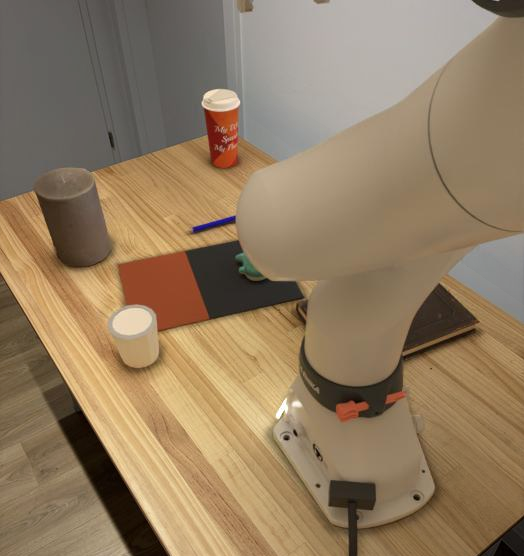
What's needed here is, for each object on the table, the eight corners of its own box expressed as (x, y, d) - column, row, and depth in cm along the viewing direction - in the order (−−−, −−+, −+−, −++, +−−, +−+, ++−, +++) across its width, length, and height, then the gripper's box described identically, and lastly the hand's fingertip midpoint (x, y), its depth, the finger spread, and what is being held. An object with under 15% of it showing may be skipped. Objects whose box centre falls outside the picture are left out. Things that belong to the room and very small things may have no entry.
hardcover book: (475, 331, 85) (479, 320, 84) (347, 381, 79) (349, 371, 77) (414, 271, 95) (416, 260, 93) (295, 311, 89) (296, 301, 87)
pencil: (268, 209, 107) (268, 204, 107) (270, 211, 107) (270, 207, 106) (186, 232, 102) (186, 227, 102) (188, 234, 102) (187, 230, 101)
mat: (304, 297, 91) (304, 297, 91) (134, 336, 85) (133, 335, 85) (269, 234, 102) (269, 233, 102) (117, 265, 97) (117, 264, 96)
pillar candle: (46, 260, 97) (17, 185, 86) (77, 229, 103) (54, 155, 92) (93, 273, 95) (70, 197, 84) (122, 240, 101) (104, 165, 90)
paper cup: (222, 174, 116) (217, 108, 106) (199, 160, 120) (193, 95, 109) (249, 161, 120) (248, 96, 109) (227, 148, 123) (223, 84, 113)
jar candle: (122, 376, 80) (112, 344, 75) (113, 344, 84) (102, 311, 79) (168, 363, 81) (162, 330, 76) (156, 332, 86) (149, 298, 80)
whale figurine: (250, 288, 92) (250, 271, 89) (227, 265, 96) (226, 247, 93) (279, 275, 94) (279, 258, 91) (255, 253, 98) (255, 235, 95)
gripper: (191, -142, 50) (204, 25, 61) (394, -153, 54) (373, 5, 65) (176, -152, 54) (190, 7, 65) (366, -161, 58) (351, -11, 69)
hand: (283, 6), depth 65 cm, fingers open, 8 cm apart
